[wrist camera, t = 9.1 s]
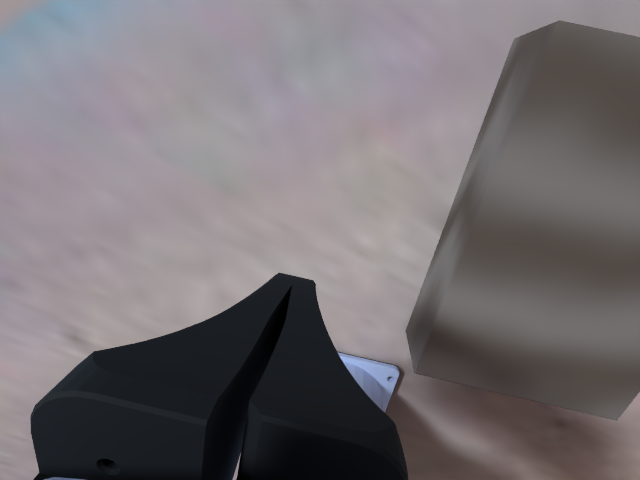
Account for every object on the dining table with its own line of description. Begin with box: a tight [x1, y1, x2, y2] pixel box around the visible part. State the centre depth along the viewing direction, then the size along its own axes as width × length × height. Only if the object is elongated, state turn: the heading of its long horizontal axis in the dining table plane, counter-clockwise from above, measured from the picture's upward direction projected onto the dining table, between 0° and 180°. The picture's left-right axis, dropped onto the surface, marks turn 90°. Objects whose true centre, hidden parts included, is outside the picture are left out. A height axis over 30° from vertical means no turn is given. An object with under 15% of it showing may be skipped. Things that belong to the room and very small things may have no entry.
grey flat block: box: [406, 21, 640, 420], centre depth 18 cm, size 18×12×4 cm, turn 168°
